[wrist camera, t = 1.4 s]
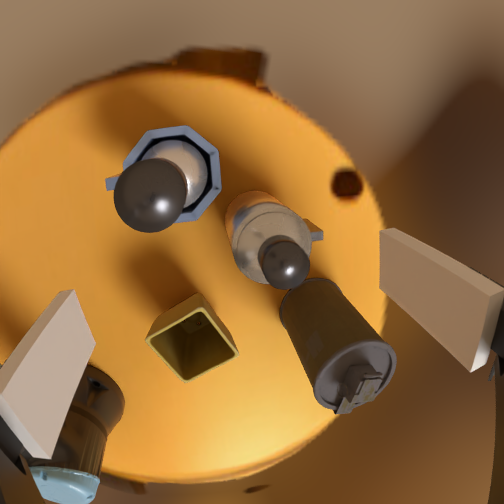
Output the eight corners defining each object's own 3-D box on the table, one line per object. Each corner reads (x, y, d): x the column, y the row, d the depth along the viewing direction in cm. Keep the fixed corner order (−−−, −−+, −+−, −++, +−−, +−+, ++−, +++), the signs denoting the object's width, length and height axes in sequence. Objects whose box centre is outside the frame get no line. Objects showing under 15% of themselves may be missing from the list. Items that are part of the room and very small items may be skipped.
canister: (287, 274, 47) (338, 356, 28) (350, 280, 49) (421, 352, 30) (273, 337, 50) (308, 432, 31) (332, 339, 52) (385, 422, 33)
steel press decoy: (227, 251, 44) (243, 315, 28) (222, 193, 42) (234, 226, 25) (298, 243, 45) (350, 299, 29) (296, 187, 43) (353, 214, 26)
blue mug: (135, 207, 40) (110, 231, 29) (127, 140, 37) (98, 139, 26) (218, 197, 42) (224, 217, 30) (212, 129, 39) (216, 122, 27)
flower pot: (201, 275, 45) (202, 306, 36) (234, 320, 48) (240, 356, 39) (152, 305, 45) (143, 339, 37) (186, 347, 48) (184, 384, 40)
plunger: (143, 212, 30) (103, 261, 17) (135, 145, 28) (85, 146, 15) (210, 204, 31) (215, 248, 18) (204, 136, 29) (203, 128, 16)
